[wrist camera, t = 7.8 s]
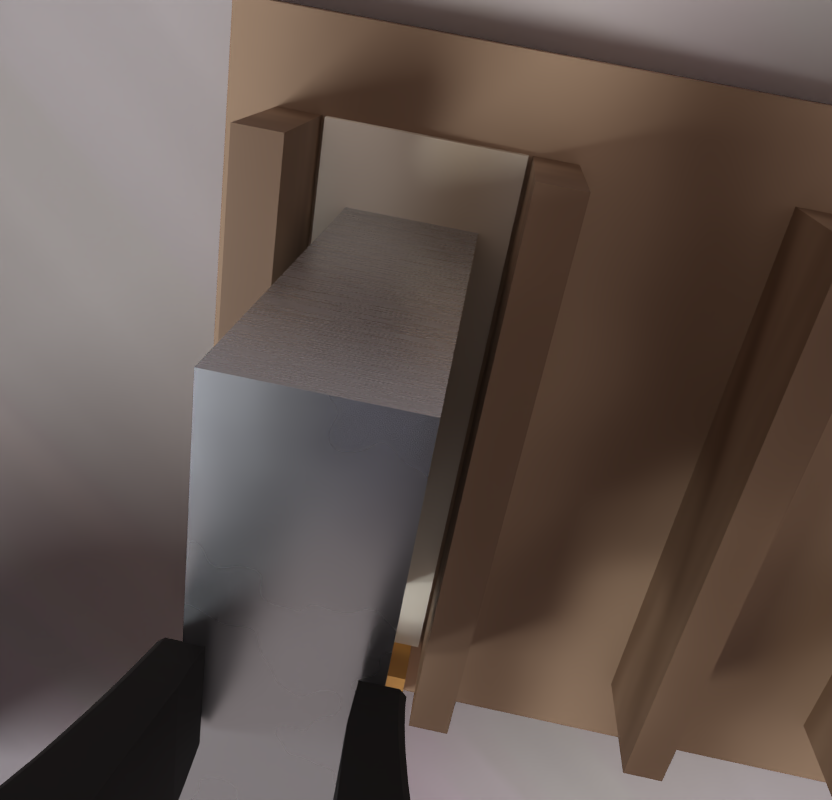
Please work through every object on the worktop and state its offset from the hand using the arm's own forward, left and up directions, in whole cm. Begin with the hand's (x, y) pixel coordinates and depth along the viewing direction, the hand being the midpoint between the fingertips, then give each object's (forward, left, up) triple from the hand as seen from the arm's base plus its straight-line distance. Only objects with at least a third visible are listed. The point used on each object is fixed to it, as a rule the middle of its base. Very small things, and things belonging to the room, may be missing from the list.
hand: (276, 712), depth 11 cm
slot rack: (+6, 0, -10) cm, 12 cm away
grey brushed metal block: (0, 0, -9) cm, 9 cm away
